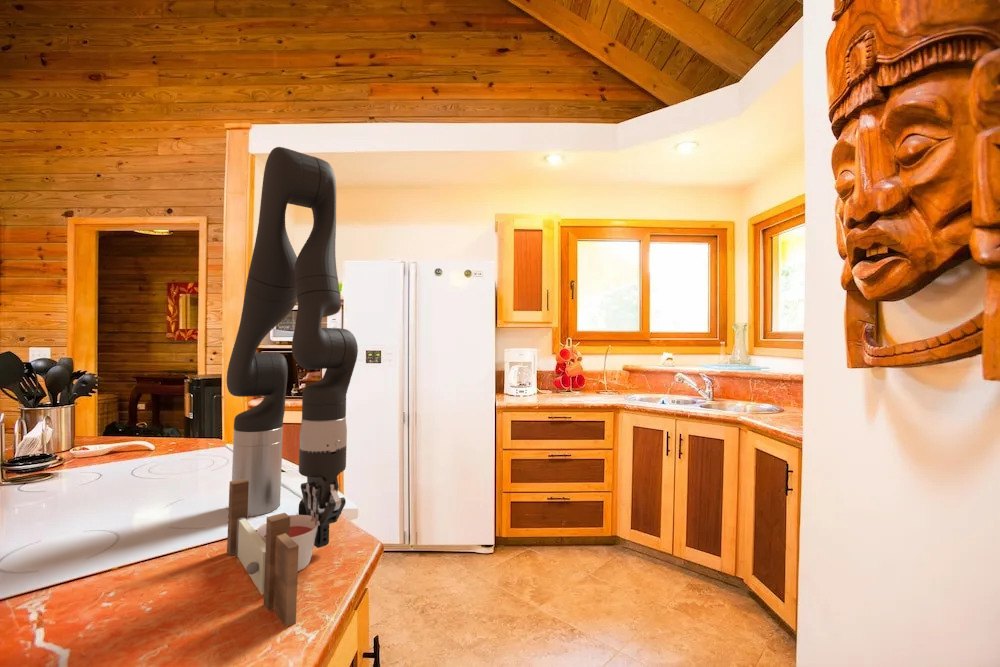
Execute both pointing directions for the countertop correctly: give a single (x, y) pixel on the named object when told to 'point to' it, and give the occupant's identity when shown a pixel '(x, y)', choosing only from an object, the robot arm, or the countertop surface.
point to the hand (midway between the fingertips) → (320, 545)
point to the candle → (299, 536)
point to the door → (251, 552)
